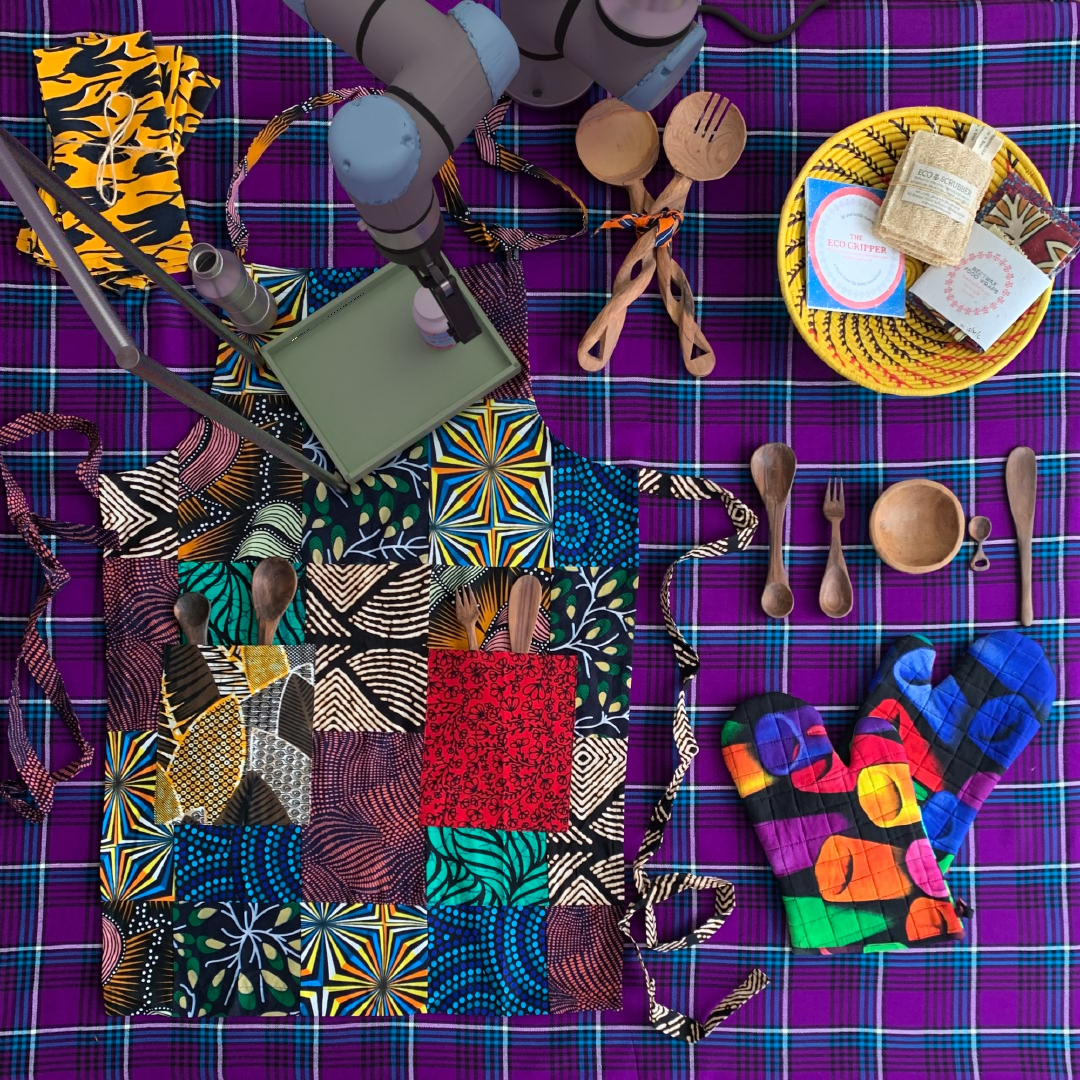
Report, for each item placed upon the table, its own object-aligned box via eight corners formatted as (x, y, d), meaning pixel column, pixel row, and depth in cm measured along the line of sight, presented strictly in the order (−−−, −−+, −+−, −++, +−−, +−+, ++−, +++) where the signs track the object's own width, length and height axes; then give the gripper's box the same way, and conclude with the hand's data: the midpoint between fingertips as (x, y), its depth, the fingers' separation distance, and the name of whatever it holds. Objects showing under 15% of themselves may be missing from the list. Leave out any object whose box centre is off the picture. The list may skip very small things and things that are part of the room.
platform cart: (431, 241, 125) (313, -124, 63) (523, 373, 123) (492, 131, 62) (251, 361, 124) (-49, 108, 62) (340, 496, 122) (123, 373, 61)
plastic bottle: (285, 293, 125) (233, 232, 105) (278, 341, 124) (226, 289, 104) (238, 289, 125) (178, 227, 105) (232, 337, 124) (170, 283, 104)
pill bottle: (414, 342, 124) (400, 315, 112) (430, 301, 124) (417, 269, 113) (456, 357, 123) (446, 331, 112) (471, 316, 124) (463, 286, 113)
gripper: (300, 135, 90) (350, 224, 111) (441, 339, 88) (464, 390, 109) (363, 93, 90) (401, 190, 111) (505, 296, 88) (516, 355, 109)
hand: (433, 289), depth 110 cm, fingers open, 13 cm apart
